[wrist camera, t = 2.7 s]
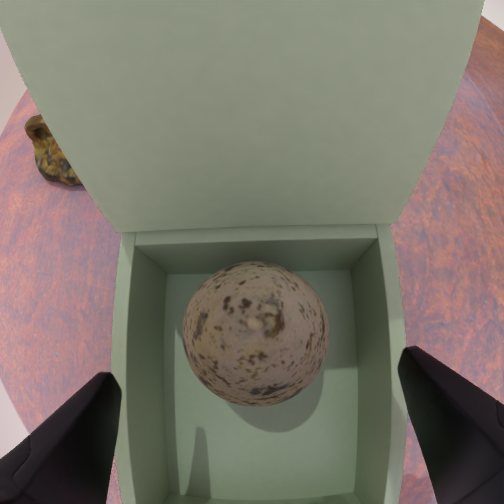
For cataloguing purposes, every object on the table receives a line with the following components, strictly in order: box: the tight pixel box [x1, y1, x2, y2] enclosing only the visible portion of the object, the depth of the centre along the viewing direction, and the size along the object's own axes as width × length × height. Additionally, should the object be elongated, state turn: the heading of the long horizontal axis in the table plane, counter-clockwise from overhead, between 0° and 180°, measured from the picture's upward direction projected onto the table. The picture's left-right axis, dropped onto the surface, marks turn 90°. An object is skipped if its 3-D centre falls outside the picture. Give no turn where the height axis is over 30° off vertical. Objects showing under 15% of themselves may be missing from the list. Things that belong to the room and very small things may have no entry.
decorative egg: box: [182, 261, 330, 407], centre depth 11 cm, size 6×6×10 cm
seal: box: [24, 114, 82, 185], centre depth 21 cm, size 9×5×15 cm
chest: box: [111, 224, 407, 504], centre depth 13 cm, size 16×13×6 cm
